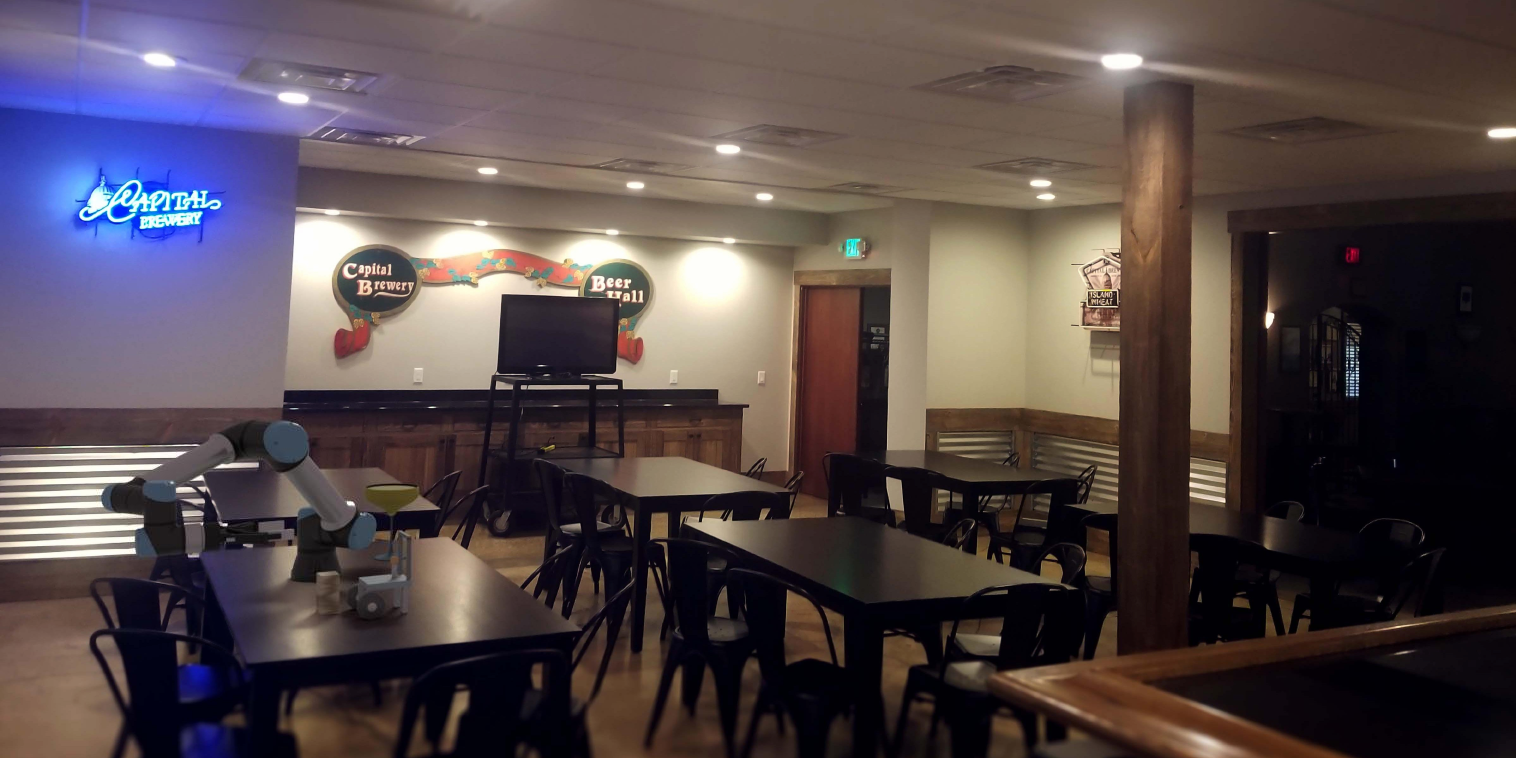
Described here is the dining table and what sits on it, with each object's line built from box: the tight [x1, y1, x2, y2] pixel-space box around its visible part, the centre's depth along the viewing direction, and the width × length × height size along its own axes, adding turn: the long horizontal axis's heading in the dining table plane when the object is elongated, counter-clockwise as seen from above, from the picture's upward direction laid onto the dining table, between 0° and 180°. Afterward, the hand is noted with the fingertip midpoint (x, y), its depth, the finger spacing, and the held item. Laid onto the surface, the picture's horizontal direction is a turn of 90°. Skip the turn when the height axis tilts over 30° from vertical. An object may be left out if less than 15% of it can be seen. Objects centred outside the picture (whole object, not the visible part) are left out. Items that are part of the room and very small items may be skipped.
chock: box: [315, 571, 341, 616], centre depth 304 cm, size 5×5×11 cm
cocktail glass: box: [364, 482, 420, 562], centre depth 379 cm, size 18×18×25 cm
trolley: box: [344, 530, 413, 621], centre depth 306 cm, size 15×15×22 cm
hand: (289, 529), depth 297 cm, fingers open, 13 cm apart
